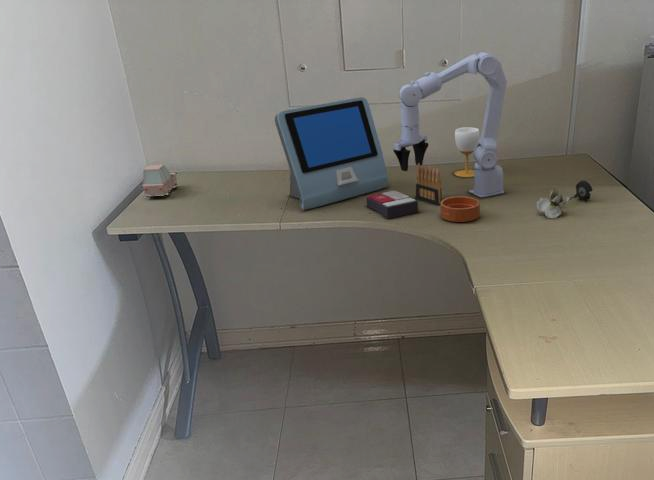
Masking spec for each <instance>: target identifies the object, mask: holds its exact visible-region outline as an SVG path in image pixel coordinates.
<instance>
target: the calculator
mask: <svg viewBox="0 0 654 480" xmlns="http://www.w3.org/2000/svg"><path fill="white" fill-rule="evenodd" d="M366 206H367V208H369V209H372V210H374V211H376V212H378V213H380V214H381V216H382V217H384V218H386V219H393V218H397V217H402V216H406V215H412V214H415V213H418V212H419V203H418V200H417V199H416V198H412V197H410V196H409V195H406V194H404V193H401V192H400V191H398V190H390V191H385V192H382V193H376V194H370V195H368V196H367V197H366Z"/></svg>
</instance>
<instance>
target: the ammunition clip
mask: <svg viewBox="0 0 654 480" xmlns="http://www.w3.org/2000/svg"><path fill="white" fill-rule="evenodd" d="M440 176H441V175H440V169H439V167H437V168H436V167H435V166H433V167H432V166H431V165H429V166H428V165H427V164H425V165H424V163H422V166H420V163H418V165H416V183H415V200H420V201H423V202H427V203H430V204H433V205H436V206H440V203H441V201H442V200H443V197H442V196H443V195H442V194H443V193H442V188H441V177H440Z"/></svg>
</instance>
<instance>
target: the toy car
mask: <svg viewBox="0 0 654 480" xmlns="http://www.w3.org/2000/svg"><path fill="white" fill-rule="evenodd" d="M142 171H143V177H142V178H143V184H142V186H141V187H142V189H143V192H144V194H148V195H165V194H166V193H168V192H169V191H170V189H172V188H173V187H174V186H176V185H177V186H176V187H175V188H173V189H172V190H178V180H177V173H176V172H170V171H169V170H168V169H167V167H166V166H165V165H164V164H149V165H147V166H146V167H145V168H144V169H143V170H142ZM170 196H171V191H170V193H169V194H168V195H166V196H165V197H170Z"/></svg>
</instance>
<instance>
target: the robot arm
mask: <svg viewBox="0 0 654 480" xmlns="http://www.w3.org/2000/svg"><path fill="white" fill-rule="evenodd" d="M464 74H465V75H466V74H472V75H477V74H480V75H481V76H482V77H483V79H485V81H486V82H487V84H488V85H489V88H488V94H487V100H486V106H485V111H484V117H483V122H482V128H481V134H480V136H479V140H478V145H477V146H476V148H475V149H474V152H473V153H472V154H473V158H474V160H475V161H476V162H475V164H474V165H473V166H474V169H473V170H474V177H473V189H470V190H468V193H470V194H472V195H474V196H477V197H479V198H480V199H481V198H488V197H492V196H497V195H502V194H505V191H504V171H503V168H502V167H501V166H500V165H499V164H498V161H499V157H498V153H497V150H498V143H497V137H498V133H499V132H498V131H499V126H500V121H501V115H502V112H503V111H502V110H503V106H504V105H503V104H504V99H505V94H506V90H507V89H506V88H507V83H508V82H507V78H506V75H505V72H504V69H503V66H502V62H501V61H500V60H499V59H498V58H497V56H495V55H494V54H491V53H489V52H488V51H486V50H481V51H478V52H476V53H473V54H470V55H469V56H467V57H464V58H463V59H461V60H460V61H458V62H456V63H454V64H453V65H450V66H449V67H447V68H445V69H444V70H442V71H441V72H439V73H436V72H433V71H431V72H429V71H427V72H425V73H424V76H422V77H420V78H418V79H417V80H411V81H410V83H411V84H409V83H408V84H404V85H402V87H401V88H400V89H399V93H398V97H399V99H400V101H401V102H400V122H401V123H400V124H401V125H400V126H401V137H400V138H399V140H398V141H396V142H394V143H393V153H394V154H395V156H396V158H397V159H398V163H399V166H400V170H401V171H403V172H408V170H409V158H410V154H411V150H410V149H407V148H408V147H412V149H413V153H414V161H415V166H418V163H420V167H421V166H422V164H424V162H423V161H424V159H425V155H426V151H427V149H428V148H429V142H428V135H427V134H421V133H420V132H421V131H420V130H421V129H420V109H419V103H420V101H421V100H424V99H426V98H428V97H429V96H431V95H433V94H435V93H437V92H440V90H441V89H442V86H443V84H445V83H448V82H450V81H452V80H454V79H456V78H458V77H461V76H463V75H464Z"/></svg>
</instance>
